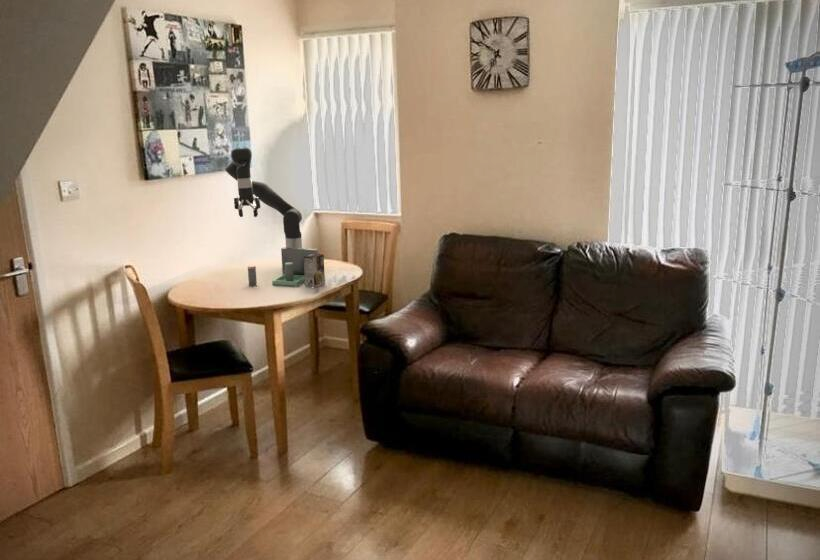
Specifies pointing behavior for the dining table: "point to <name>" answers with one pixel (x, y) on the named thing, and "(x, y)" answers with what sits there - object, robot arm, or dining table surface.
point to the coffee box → (314, 270)
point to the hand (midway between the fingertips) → (248, 216)
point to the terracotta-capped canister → (252, 275)
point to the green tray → (282, 281)
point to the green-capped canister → (289, 271)
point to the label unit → (295, 258)
